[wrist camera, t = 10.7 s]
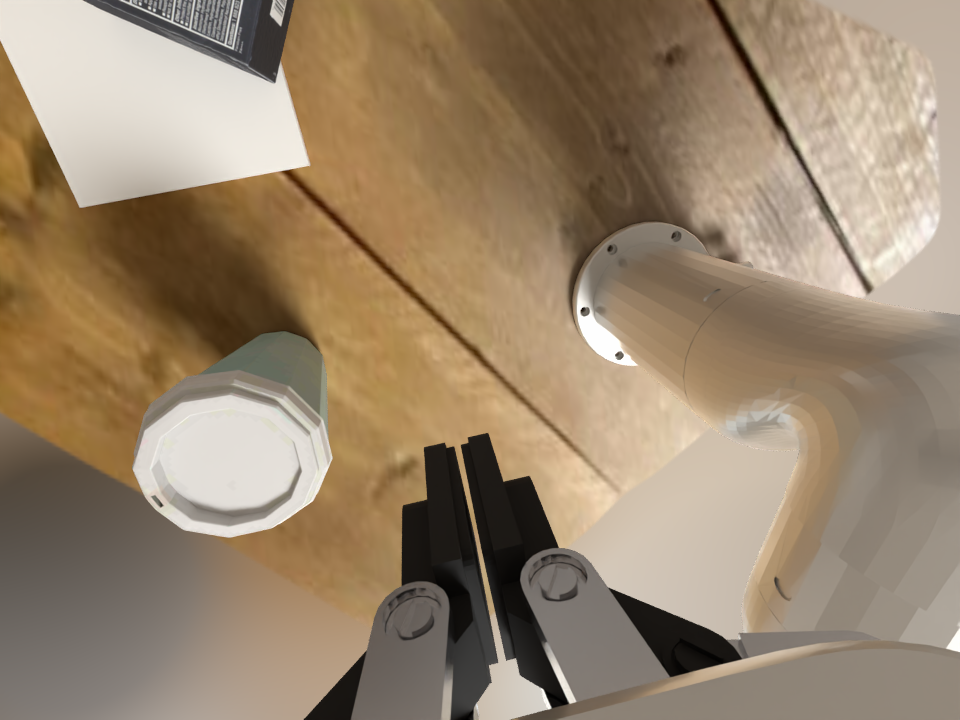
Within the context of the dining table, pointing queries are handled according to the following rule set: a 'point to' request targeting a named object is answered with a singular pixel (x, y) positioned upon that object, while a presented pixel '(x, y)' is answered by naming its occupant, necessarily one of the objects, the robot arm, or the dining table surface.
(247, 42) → the small box
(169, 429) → the disposable coffee cup
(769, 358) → the robot arm
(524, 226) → the dining table surface
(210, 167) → the white mat
